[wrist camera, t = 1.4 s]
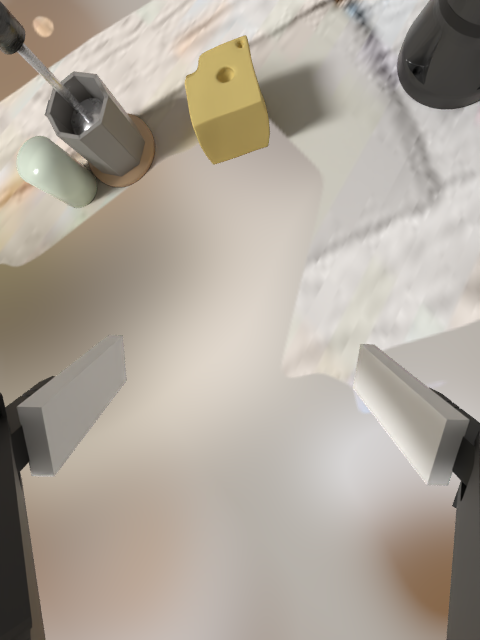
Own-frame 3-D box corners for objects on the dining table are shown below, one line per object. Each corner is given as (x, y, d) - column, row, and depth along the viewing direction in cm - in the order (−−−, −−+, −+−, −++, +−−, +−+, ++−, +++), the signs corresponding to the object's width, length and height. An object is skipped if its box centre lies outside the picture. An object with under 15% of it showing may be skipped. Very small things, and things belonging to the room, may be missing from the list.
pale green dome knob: (58, 163, 54) (12, 130, 45) (101, 171, 52) (62, 139, 43) (48, 201, 54) (0, 176, 45) (91, 211, 52) (50, 187, 43)
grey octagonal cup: (99, 112, 52) (49, 56, 42) (163, 122, 50) (127, 65, 39) (81, 180, 53) (27, 142, 42) (144, 193, 50) (103, 156, 39)
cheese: (199, 113, 49) (175, 59, 39) (259, 91, 47) (250, 28, 37) (211, 169, 48) (190, 128, 38) (272, 148, 46) (267, 100, 36)
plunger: (81, 99, 44) (-35, -25, 29) (115, 104, 43) (15, -23, 27) (70, 139, 44) (-50, 36, 29) (105, 145, 43) (-1, 41, 28)
